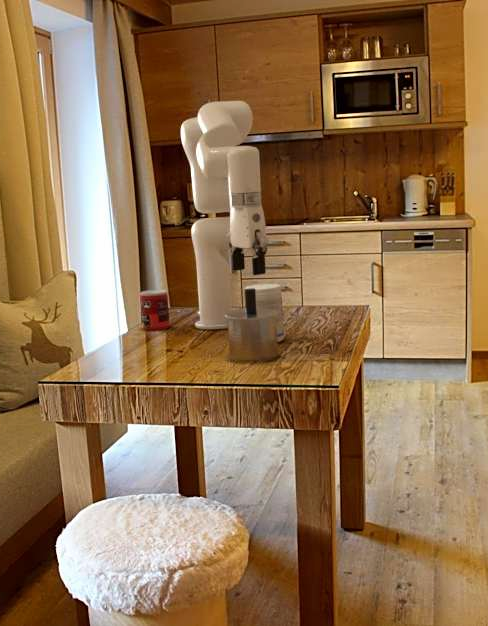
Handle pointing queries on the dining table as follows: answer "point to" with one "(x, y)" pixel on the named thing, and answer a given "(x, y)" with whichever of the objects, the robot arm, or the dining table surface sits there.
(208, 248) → the robot arm
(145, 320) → the canned food
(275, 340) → the steel jar
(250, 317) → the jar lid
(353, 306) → the dining table surface
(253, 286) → the supplement tub
